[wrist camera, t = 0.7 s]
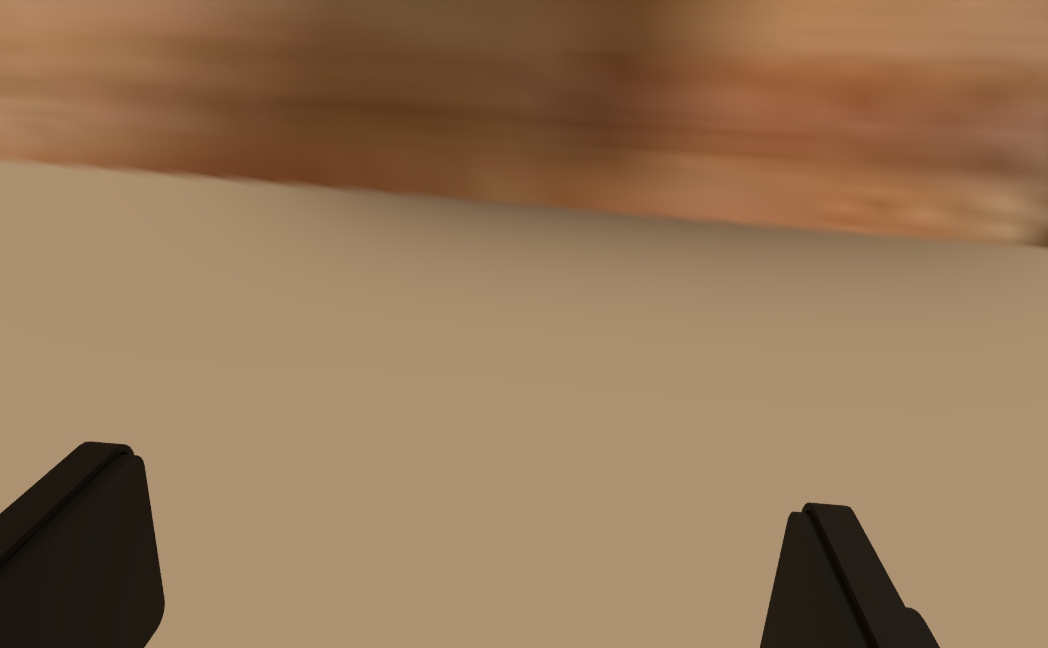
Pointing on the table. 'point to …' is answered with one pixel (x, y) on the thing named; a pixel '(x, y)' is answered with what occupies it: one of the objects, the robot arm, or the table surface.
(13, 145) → the table surface
